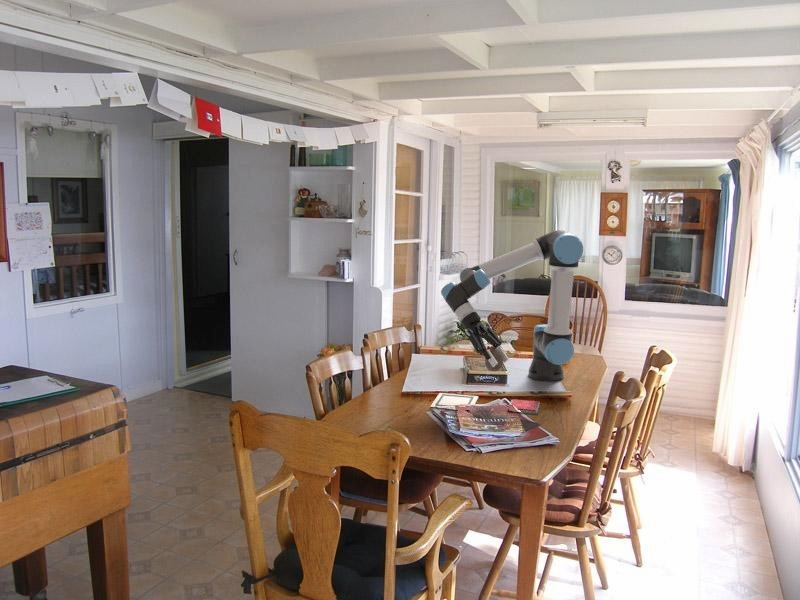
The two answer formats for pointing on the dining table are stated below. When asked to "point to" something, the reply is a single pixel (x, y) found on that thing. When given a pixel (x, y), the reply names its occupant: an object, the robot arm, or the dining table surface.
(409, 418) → the dining table surface
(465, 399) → the marked card
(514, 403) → the ink pad
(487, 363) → the brown egg
